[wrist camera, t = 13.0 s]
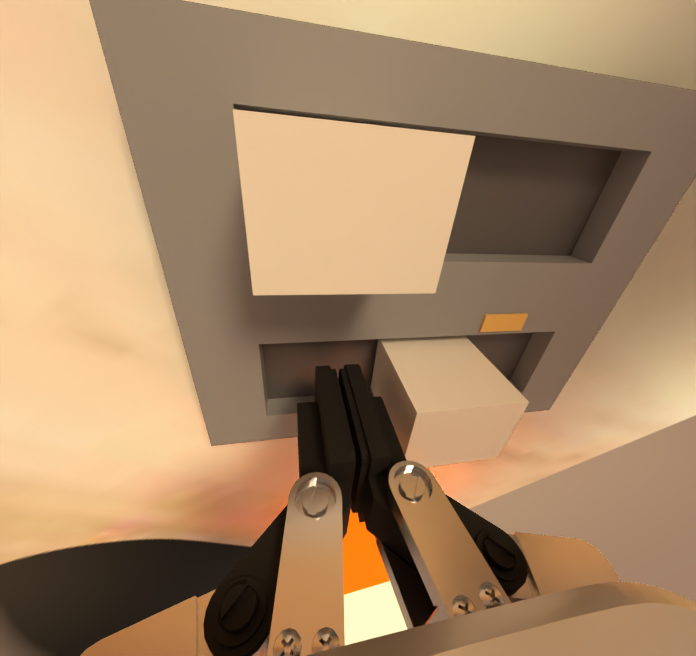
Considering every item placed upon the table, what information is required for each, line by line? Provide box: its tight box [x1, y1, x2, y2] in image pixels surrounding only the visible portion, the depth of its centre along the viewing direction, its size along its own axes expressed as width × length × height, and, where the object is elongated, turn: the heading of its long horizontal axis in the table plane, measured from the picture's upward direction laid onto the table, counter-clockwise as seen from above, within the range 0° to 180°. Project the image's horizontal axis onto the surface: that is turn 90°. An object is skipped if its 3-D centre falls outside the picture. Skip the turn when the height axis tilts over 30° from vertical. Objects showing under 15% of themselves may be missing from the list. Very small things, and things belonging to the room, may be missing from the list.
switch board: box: [89, 0, 696, 446], centre depth 12 cm, size 18×14×2 cm
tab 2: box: [371, 335, 529, 468], centre depth 12 cm, size 4×3×4 cm
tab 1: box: [233, 109, 475, 295], centre depth 7 cm, size 4×3×4 cm
